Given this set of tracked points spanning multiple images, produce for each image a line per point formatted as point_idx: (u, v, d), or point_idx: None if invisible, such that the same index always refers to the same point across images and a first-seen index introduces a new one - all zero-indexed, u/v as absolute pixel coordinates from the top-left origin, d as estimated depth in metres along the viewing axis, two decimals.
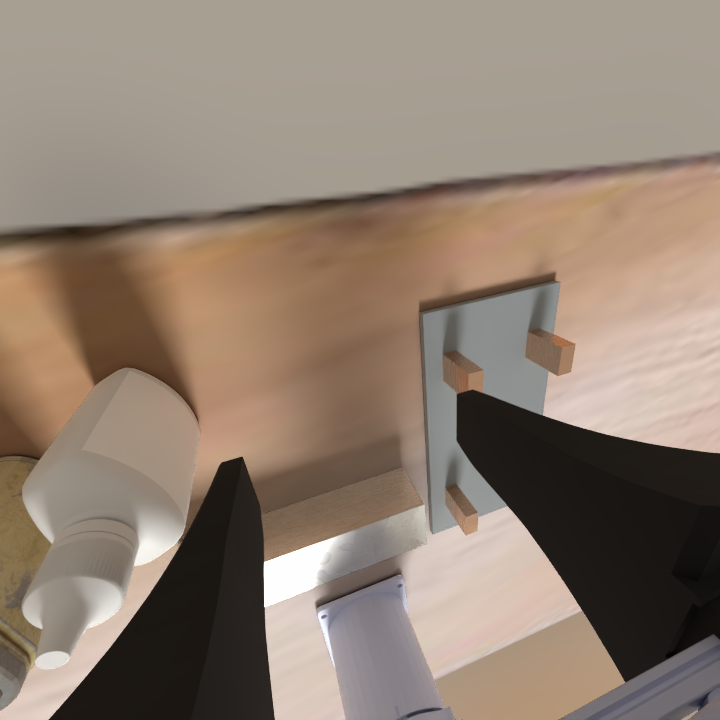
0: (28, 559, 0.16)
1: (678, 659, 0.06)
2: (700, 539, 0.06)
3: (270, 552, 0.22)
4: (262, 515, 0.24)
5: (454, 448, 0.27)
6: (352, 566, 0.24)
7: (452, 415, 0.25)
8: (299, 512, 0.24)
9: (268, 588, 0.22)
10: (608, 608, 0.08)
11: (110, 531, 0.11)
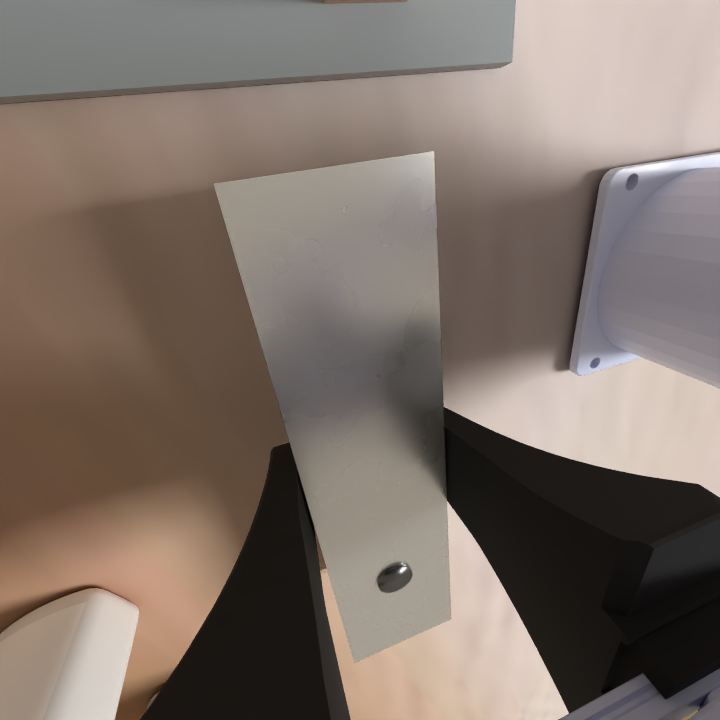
0: None
1: None
2: (625, 575, 0.05)
3: None
4: None
5: None
6: (421, 403, 0.09)
7: None
8: None
9: (403, 551, 0.11)
10: (551, 636, 0.07)
11: None
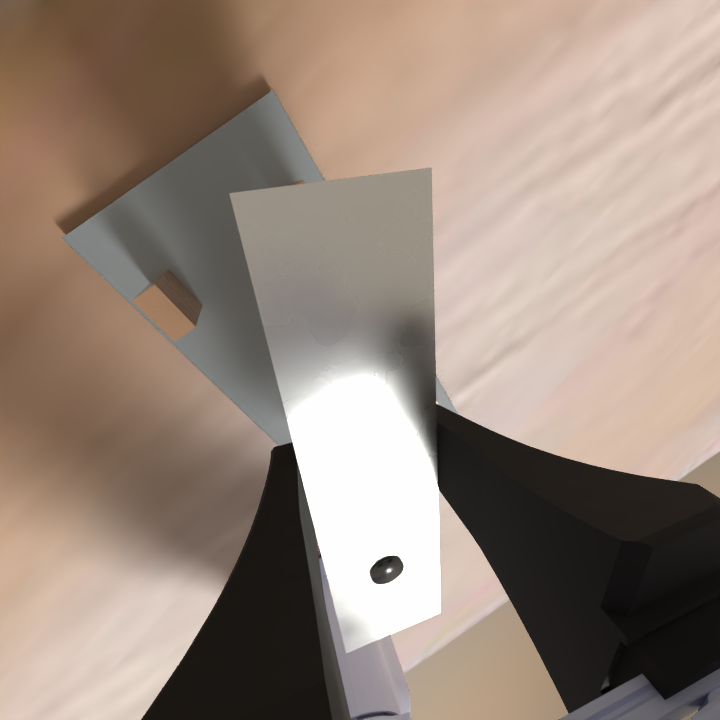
0: None
1: None
2: (625, 575, 0.05)
3: None
4: None
5: None
6: (415, 401, 0.10)
7: (242, 358, 0.18)
8: None
9: (396, 544, 0.12)
10: (550, 636, 0.07)
11: None
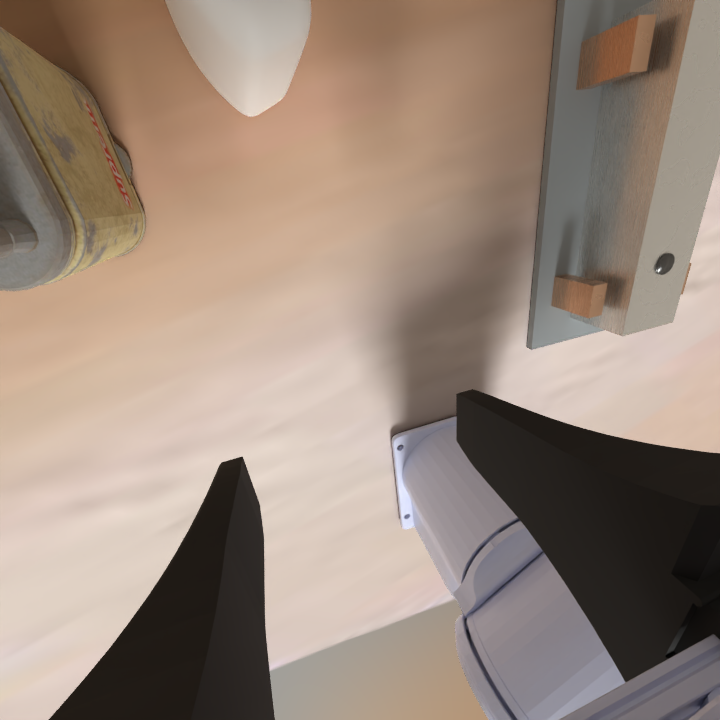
0: (71, 133, 0.11)
1: (678, 659, 0.06)
2: (701, 540, 0.06)
3: (634, 235, 0.20)
4: (586, 236, 0.22)
5: (573, 213, 0.22)
6: (718, 127, 0.18)
7: (577, 156, 0.20)
8: (604, 193, 0.21)
9: (674, 243, 0.20)
10: (608, 608, 0.08)
11: None
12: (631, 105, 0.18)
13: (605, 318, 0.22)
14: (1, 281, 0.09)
